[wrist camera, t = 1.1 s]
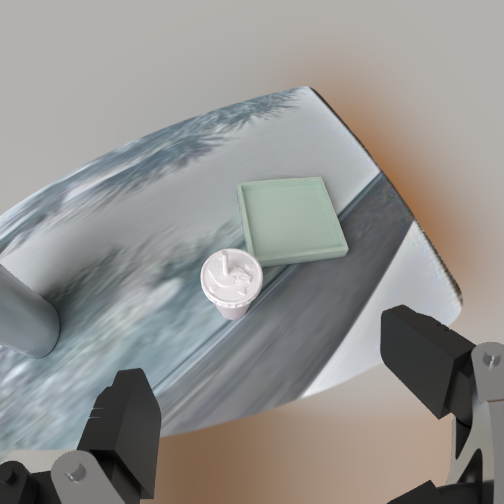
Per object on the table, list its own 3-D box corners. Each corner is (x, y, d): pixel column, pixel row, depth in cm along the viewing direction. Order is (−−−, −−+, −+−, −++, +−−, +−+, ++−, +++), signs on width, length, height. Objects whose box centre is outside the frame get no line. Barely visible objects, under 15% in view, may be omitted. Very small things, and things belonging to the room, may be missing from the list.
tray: (250, 269, 41) (250, 261, 39) (236, 191, 48) (236, 182, 46) (344, 256, 43) (348, 249, 41) (318, 185, 50) (321, 176, 48)
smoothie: (215, 279, 40) (205, 218, 28) (262, 289, 40) (272, 231, 28) (203, 324, 37) (185, 278, 25) (252, 334, 37) (259, 294, 25)
